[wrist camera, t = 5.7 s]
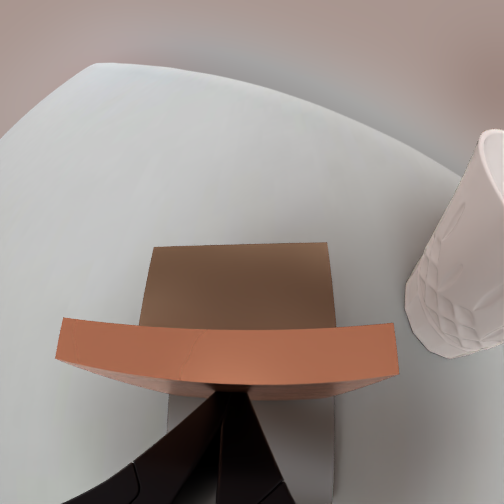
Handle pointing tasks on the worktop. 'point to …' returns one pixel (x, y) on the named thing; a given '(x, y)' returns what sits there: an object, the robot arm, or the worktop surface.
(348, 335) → the copper wooden slab
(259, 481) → the robot arm
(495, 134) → the white cup
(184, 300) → the bearing block
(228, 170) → the worktop surface
